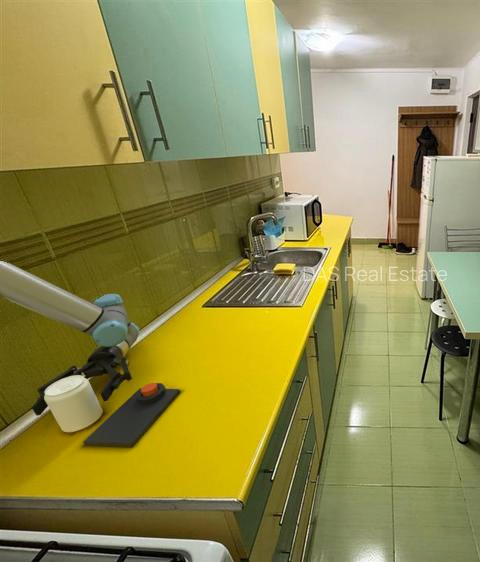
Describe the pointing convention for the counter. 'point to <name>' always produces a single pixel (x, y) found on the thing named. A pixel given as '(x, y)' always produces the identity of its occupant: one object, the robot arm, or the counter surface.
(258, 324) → the counter surface
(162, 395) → the warming base
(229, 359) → the counter surface
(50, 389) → the beverage can
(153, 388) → the button
